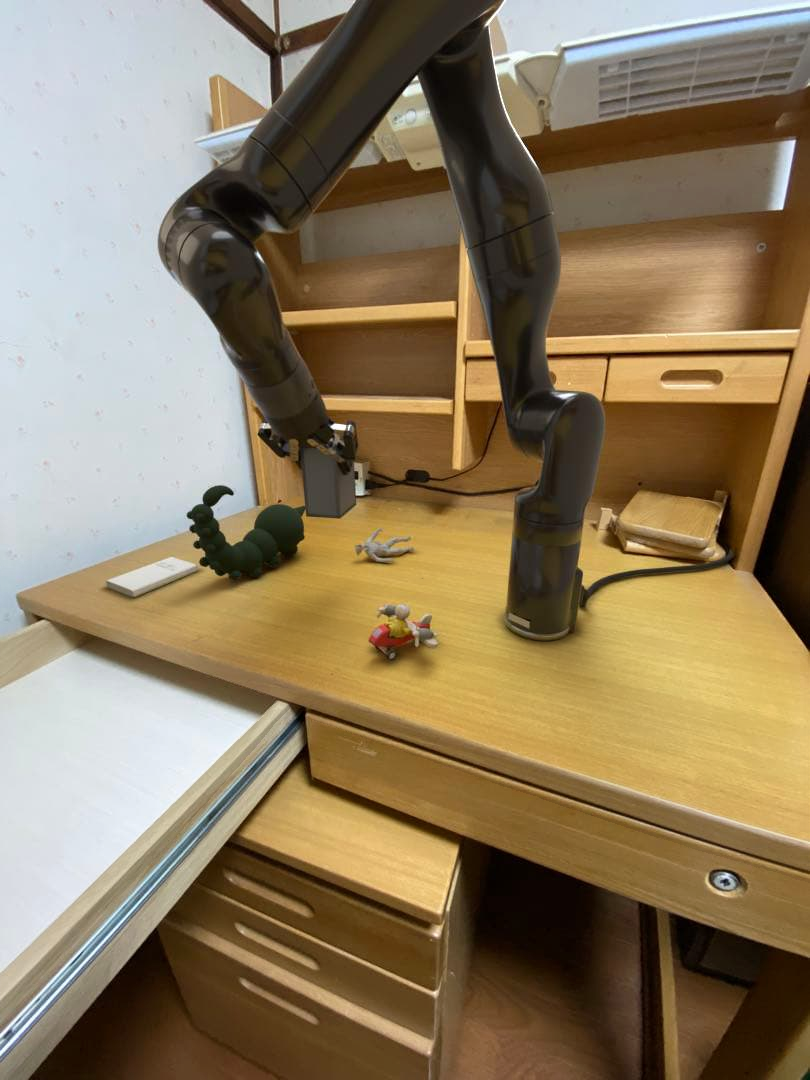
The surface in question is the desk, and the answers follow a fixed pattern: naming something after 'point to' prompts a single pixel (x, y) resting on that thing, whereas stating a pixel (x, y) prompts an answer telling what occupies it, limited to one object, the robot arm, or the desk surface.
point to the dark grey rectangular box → (326, 485)
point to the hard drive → (151, 576)
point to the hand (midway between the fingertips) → (327, 469)
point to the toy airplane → (401, 630)
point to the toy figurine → (246, 537)
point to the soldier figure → (382, 548)
